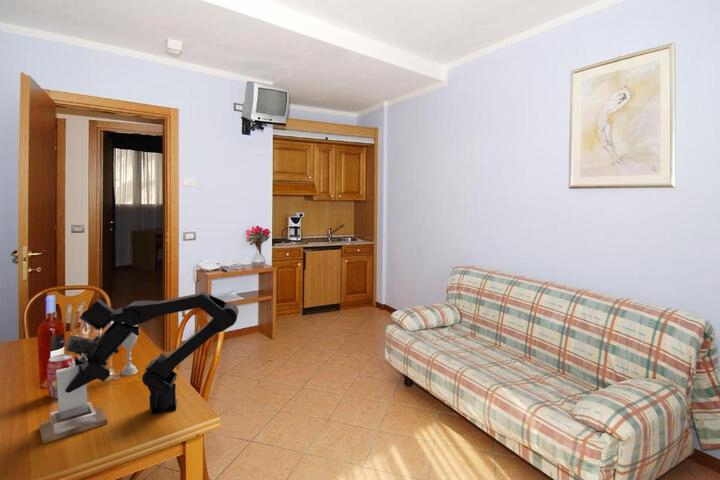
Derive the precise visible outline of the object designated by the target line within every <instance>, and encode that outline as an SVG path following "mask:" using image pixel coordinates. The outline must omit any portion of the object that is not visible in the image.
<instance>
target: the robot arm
mask: <svg viewBox="0 0 720 480" xmlns="http://www.w3.org/2000/svg"><path fill="white" fill-rule="evenodd" d="M194 309H195V310H196V309H200V310H203V311H204V312H205V313H206V314H207V315H208V316H210V317H211V318H210V319H209V321H207V323H205V325H203V326H202V327H201V328H199V329H198V330H197V331H196V332H194V334H192V335H191V336H189V338H187V339H186V340H185V341H183V342H182V343H181V344H180V345H179V346H178V347H177V348H175V349H174V350H172V352H170V353H168V354H164V352H160V354H159V355H157V357H155V358H153V359H151V361H150V362H149V363H148V364H147V366H146V367H145V368H144V370H145V372H144V373H143V375H142V376H141V377H142V383H143V385H144V386H146V387H147V389H148V391H149V398H148V399H149V410H150V414H151V415H155V414H163V413H169V412H173V411H176V410H177V402H178V399H177V383H175V382H176V380H177V378H178V374H177V372H175V371H174V370H175V369H176V368H177V366H178V365H179V364H181V363H182V362H183V361H184V360H186V359H187V358H188V357H189V356H190V355H192V354H193V353H194V352H195V351H196V350H198V349H199V348H200V347H202V345H204V344H205V343H206V342H207V341H209V340H210V339H211V338H212V337H213V336H215V335H217V334H219V333H222V332H224V331H226V330H227V329H230V328H231V327H232V326H234V325H235V324H236V323H237V319H238V316H239V308H238V306H237V305H235V303H232V302H226V301H225V300H222V299H221V298H218V297H216V296H214V295H212V294H211V293H208V292H207V291H201V292H199V293H194V294H189V295H185V296H179V297H174V298H169V299H164V300H163V299H162V300H135V301H133V302H131V303H130V304H128V305H127V306H125V307H120V308H118V309H116V310H115V309H114V308H112V307H111V306H109V305H108V304H106V303H105V302H104V301H103V300H102V299H97V300H96V301H95V302H94V303H93V304H91V306H90V307H88V308H87V309H85V310H84V311H83V312H82V313H81V315H80V316H79V319H80V320H82V322H84V323H86V324H88V326H90V327H92V328H93V329H94V330H97V331H99V330H101V329H102V330H105V329H106V328H107V327H108V326H109V325H110V324H111V325H110V326H109V327H108V328H107V329H106V330H105V331H104V332H103V333H102V334H101V335H96V336H95V337H94V338H93V339H91V338H87V337H82V336H77V335H70V336H69V338H68V340H67V343H66V344H65V346H64V347H65V349H66V351H67V352H71V353H73V354H75V355H78V356H74V357H73V359H74V363H75V366H78V373H77V374H76V376H75V377H74V378H73V380H72V381H71V383H70V384H69V385H68V387H67V388H66V390H65V391H66V392H67V393H70V392H71V391H73V390H75V389H77V388H79V387H81V386H83V385H85V384H86V385H87V384H89V383H90V382H92V381H95V380H100V381H101V382H106V381H107V379H108V378H109V377H110V376H111V374H110V369H109V368H108V366H107V365H108V360H109V359H110V358H111V357H112V356H113V355H114V354H118V353H119V351H120V350H119V348H120V347H121V346H122V344H123V342H124V341H125V340H126V339H127V338H128V337H129V336H130V335H131V334H132V333H134V334H135V335H137V336H140V334H141V333H140V329H141V328H140V325H141V324H143V323H146V322H149V321H150V320H153V319H155V318H157V317H160V316H161V317H162V316H165V315H166V316H167V315H171V314H174V313H180V312H185V311H189V310H190V311H191V310H194ZM112 322H113V323H112ZM135 325H138V326H136V327H135ZM82 364H83V366H81V365H82Z"/></svg>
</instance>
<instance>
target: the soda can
mask: <svg viewBox="0 0 720 480" xmlns="http://www.w3.org/2000/svg"><path fill="white" fill-rule="evenodd" d="M73 366H75V361H74V357H73V355H72V354H70V353H68V354H67V353H63V354H58V355H54V356H52V357H50V358H49V359H48V362H47V364H46V380H47V381H46V382H47V391H48V395H49V397H50V398H52V399H53V398H54V399H58V389H57V386H55V387H54V386H52V383H53V382H54V381H57V375H56V370H60V369H64V368H69V367H73Z"/></svg>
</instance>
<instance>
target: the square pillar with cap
mask: <svg viewBox="0 0 720 480" xmlns="http://www.w3.org/2000/svg"><path fill="white" fill-rule="evenodd" d="M81 366H83V364H82V365H81ZM77 373H78V366H73V367H69V368H64V369H60V370H56V375H57V381H54V382H53V383H52V386H54V387H55V386H57V389H58V398H57V402H58V406H57V407H58V411H59V414H60V417H61V419H65V418H68V417H71V416H75V415H78V414H82V413H85V412H88V411H89V409H88V403H89V402H88V390H87V384H85V385H83V386H81V387H79V388H77V389H75V390H73V391H71V392H70V393H67V392H66V391H65V390H66V388H67V387H68V385H69V384H70V383H71V381H72V380H73V378H74V377H75V376H76V374H77Z"/></svg>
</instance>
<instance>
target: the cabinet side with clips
mask: <svg viewBox="0 0 720 480" xmlns="http://www.w3.org/2000/svg"><path fill="white" fill-rule="evenodd" d="M88 409H89V411H88V412H85V413H82V414H78V415H75V416H71V417H68V418H65V419H61V417H60V414H59V410H57V411H53V412H50V413H49V415H50V420H49V421H46V422H42V423H39V424H38V427H39V433H40V438H41V441H42V442H41V443H42V444H45V443H48V442H53V441H56V440H59V439H62V438H65V437H68V436H72V435H75V434H78V433H81V432H85V431H89V430H91V429H93V428H97V427H100V426H103V425H107V424H108V418H107V415H105V412H104V410H103V408H102V407H101V406H98V407H95V408H94V406H93V405H92V402H91V401H90V402H88Z"/></svg>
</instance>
